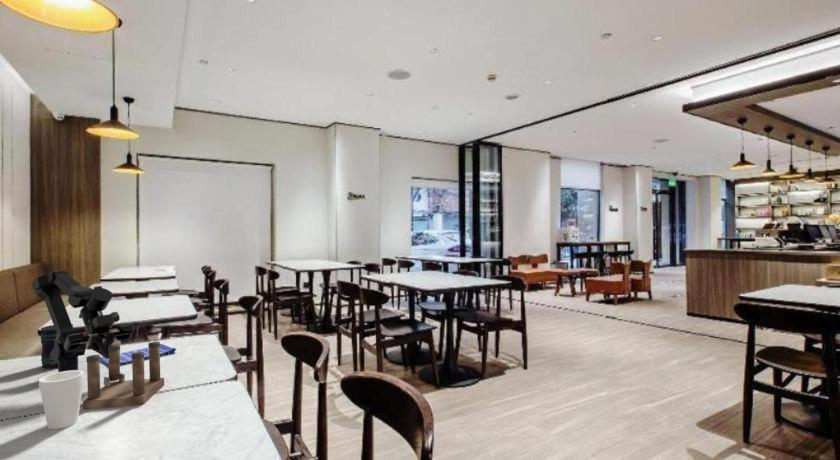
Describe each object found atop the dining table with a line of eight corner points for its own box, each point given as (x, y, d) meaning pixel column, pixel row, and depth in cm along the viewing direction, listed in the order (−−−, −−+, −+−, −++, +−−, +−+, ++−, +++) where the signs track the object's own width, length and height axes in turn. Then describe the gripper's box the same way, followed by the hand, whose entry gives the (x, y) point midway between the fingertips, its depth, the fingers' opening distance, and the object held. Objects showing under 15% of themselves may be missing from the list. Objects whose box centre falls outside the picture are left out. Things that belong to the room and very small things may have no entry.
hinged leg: (106, 379, 141) (106, 345, 141) (117, 376, 144) (117, 343, 143) (110, 382, 139) (110, 348, 139) (122, 379, 142) (122, 345, 142)
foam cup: (93, 418, 121) (91, 372, 121) (55, 434, 113) (54, 383, 112) (69, 414, 124) (68, 368, 124) (31, 429, 116) (30, 380, 115)
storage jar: (72, 359, 177) (71, 322, 177) (76, 364, 170) (75, 326, 170) (39, 365, 170) (38, 327, 169) (42, 371, 163) (41, 331, 163)
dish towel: (177, 354, 183) (177, 347, 183) (111, 369, 165) (110, 362, 165) (161, 347, 194) (161, 341, 194) (97, 361, 176) (97, 354, 176)
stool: (80, 409, 127) (78, 359, 127) (109, 388, 144) (108, 343, 144) (143, 404, 131) (142, 354, 130) (165, 384, 147) (164, 340, 147)
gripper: (66, 310, 139) (80, 350, 133) (131, 301, 154) (147, 336, 148) (57, 331, 143) (71, 371, 137) (122, 320, 159) (136, 356, 153)
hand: (108, 357), depth 144 cm, fingers closed
